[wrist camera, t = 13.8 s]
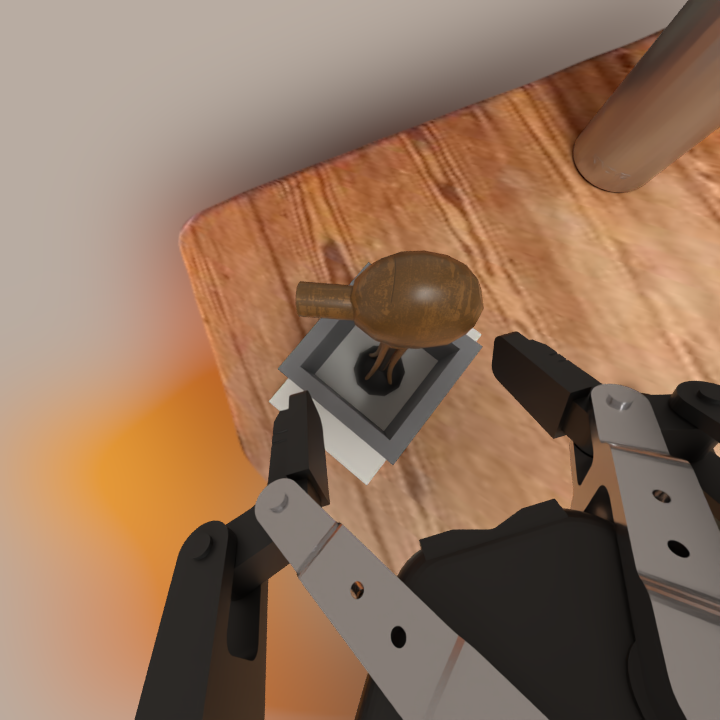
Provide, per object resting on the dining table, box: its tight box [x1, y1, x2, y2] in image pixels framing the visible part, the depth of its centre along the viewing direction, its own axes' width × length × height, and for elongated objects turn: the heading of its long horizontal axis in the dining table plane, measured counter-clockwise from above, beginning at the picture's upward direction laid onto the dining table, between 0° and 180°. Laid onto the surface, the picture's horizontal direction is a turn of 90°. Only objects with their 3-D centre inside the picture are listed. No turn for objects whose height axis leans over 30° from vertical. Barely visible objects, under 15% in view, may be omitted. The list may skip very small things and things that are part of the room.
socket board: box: [269, 262, 482, 485], centre depth 24 cm, size 18×12×8 cm, turn 141°
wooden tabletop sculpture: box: [296, 251, 484, 396], centre depth 16 cm, size 6×5×20 cm
